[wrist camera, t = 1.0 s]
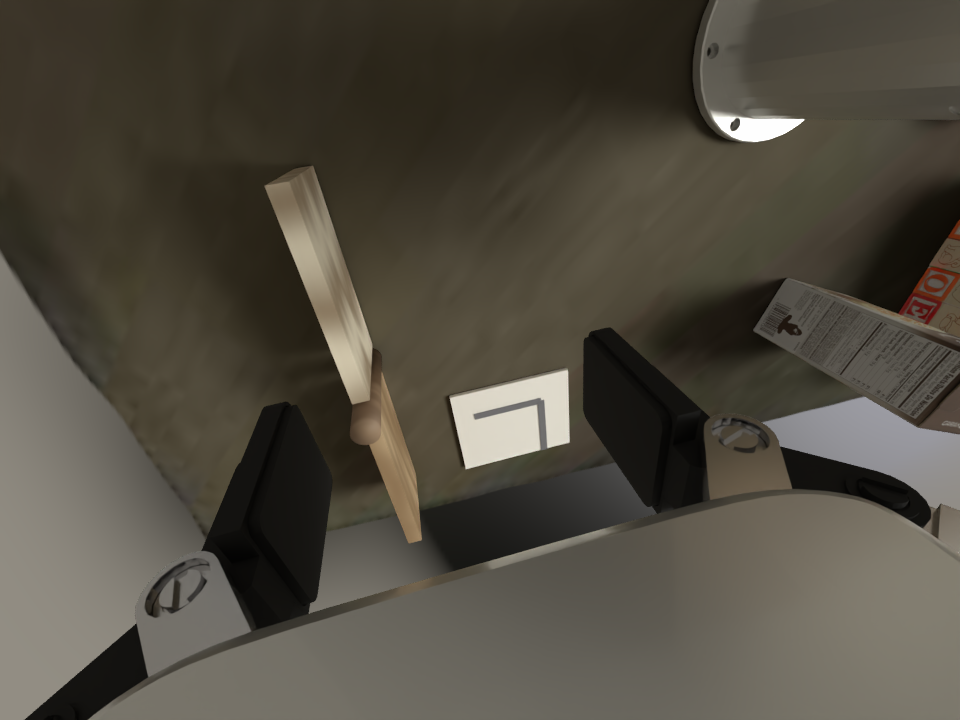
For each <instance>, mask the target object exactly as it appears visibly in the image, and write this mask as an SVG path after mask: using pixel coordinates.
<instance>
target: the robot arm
mask: <svg viewBox="0 0 960 720" xmlns="http://www.w3.org/2000/svg"><path fill="white" fill-rule="evenodd" d="M693 86H694V93H695V99H696V101H697V104H698V107H699V110H700V113H701V115H702V116H703V118H704V120H705V121H706V123H707V124H708V126H709V127H710V128H711V129H712V130H714V131H715V132H716V133H717V134H718V135H720V136H722V137H724V138H726V139H728V140H732V141H737V142H749V143H757V142H762V141H767V140H771V139H773V138H776V137H778V136H781V135H783V134H785V133H786V132H788V131H790V130H791V129H793V128H794V127H796V126H798V125H799V124H800V123H801V122H802V121H804V120H805V119H826V120H960V0H709V2H708V5H707V7H706V9H705V12H704V14H703V17H702V20H701V24H700V27H699V31H698V34H697V38H696V44H695V50H694V57H693ZM583 410H584V414H585V417H586V419H587V421H588V422H589V424H590V425H591V427H592V428H593V430H594V431H595V433H596V434H597V436H598V437H599V438H600V440H601V441H602V443H603V444H604V446H605V447H606V449H607V450H608V452H609V453H610V455H611V456H612V458H613V459H614V460H615V462H616V463H617V465H618V466H619V468H620V469H621V470H622V472H623V474H624V475H625V477H626V478H627V480H628V481H629V482H630V484H631V485H632V487H633V488H634V490H635V491H636V493H637V494H638V496H639V497H640V498H641V500H642V502H643V503H644V504H645V505H646V506H647V507H650V506H652V507H653V508H654V510H655V511H656V513H657V514H655V515H651V516H648V517H644V518H641V519H637V520H633V521H630V522H627V523H623V524H619V525H616V526H612V527H609V528H605V529H601V530H598V531H594V532H591V533H587V534H583V535H580V536H577V537H573V538H569V539H566V540H562V541H559V542H555V543H552V544H548V545H545V546H541V547H537V548H534V549H530V550H527V551H523V552H520V553H516V554H513V555H509V556H506V557H502V558H499V559H495V560H492V561H488V562H485V563H481V564H478V565H475V566H471V567H467V568H464V569H461V570H457V571H453V572H450V573H446V574H443V575H439V576H436V577H432V578H429V579H426V580H422V581H419V582H415V583H412V584H409V585H405V586H402V587H398V588H395V589H391V590H388V591H385V592H381V593H378V594H374V595H371V596H367V597H364V598H360V599H357V600H354V601H350V602H347V603H343V604H340V605H337V606H333V607H330V608H326V609H323V610H320V611H317V612H313V613H310V614H308V612H309V607H310V603H311V602H314V601H315V600H316V598H317V594H318V587H319V580H320V572H321V565H322V557H323V549H324V542H325V535H326V528H327V520H328V513H329V506H330V498H331V491H332V476H331V472H330V470H329V468H328V466H327V464H326V462H325V460H324V458H323V456H322V454H321V452H320V450H319V448H318V446H317V444H316V442H315V440H314V438H313V436H312V434H311V432H310V430H309V428H308V426H307V423H306V421H305V419H304V417H303V415H302V413H301V411H300V409H299V408H298V406H297V405H293V406H291V405H290V404H289V403H288V402H283V403H278V404H274V405H270V406H266V407H264V408H263V410H262V412H261V414H260V417H259V419H258V422H257V424H256V427H255V429H254V431H253V434H252V436H251V439H250V441H249V444H248V446H247V448H246V451H245V453H244V456H243V458H242V461H241V463H239V464H238V466H237V468H236V469H235V472H234V474H233V477H232V479H231V481H230V484H229V486H228V489H227V491H226V493H225V496H224V498H223V501H222V503H221V505H220V508H219V510H218V513H217V515H216V517H215V520H214V522H213V525H212V527H211V529H210V532H209V534H208V537H207V539H206V541H205V544H204V546H203V549H202V551H200V552H193V553H190V554H187V555H184V556H182V557H181V558H178V559H177V560H175V561H173V562H171V563H170V564H169V565H167V566H166V567H165V568H163V569H162V570H161V571H160V572H158V574H157V575H156V576H155V577H154V578H153V579H152V580H151V581H150V582H149V583H148V584H147V586H146V587H145V589H144V590H143V592H142V593H141V595H140V597H139V599H138V602H137V604H136V610H135V618H136V624H135V625H134V626H133V627H132V628H131V629H130V630H128V631H127V632H126V633H125V634H124V635H123V636H121V637H120V638H119V639H118V640H117V641H116V642H114V643H113V644H112V645H111V646H110V647H109V648H107V649H106V650H105V651H104V652H103V653H102V654H100V655H99V656H98V657H97V658H96V659H95V660H94V661H92V662H91V663H90V664H89V665H88V666H86V667H85V668H84V669H83V670H82V671H81V672H79V673H78V674H77V675H76V676H75V677H74V678H72V679H71V680H70V681H69V682H68V683H67V684H65V685H64V686H63V687H62V688H61V689H60V690H59V691H57V692H56V693H55V694H54V695H53V696H52V697H50V698H49V699H48V700H47V701H46V702H45V703H43V704H42V705H41V706H40V707H39V708H38V709H36V710H35V711H34V712H33V713H32V714H31V715H30V716H28V717H27V718H26V719H25V720H960V510H957V509H954V508H951V507H949V506H946V505H943V504H940V505H939V507H938V508H937V509H935V508H933V507H930V506H929V505H928V504H927V501H926V500H925V499H924V498H923V497H922V496H921V495H920V494H919V493H918V492H917V491H916V490H914V489H913V488H911V487H910V486H908V485H907V484H906V483H904V482H902V481H900V480H898V479H896V478H894V477H892V476H889V475H886V474H884V473H881V472H878V471H874V470H870V469H866V468H862V467H858V466H854V465H851V464H847V463H843V462H839V461H835V460H831V459H827V458H823V457H819V456H815V455H812V454H808V453H804V452H800V451H796V450H792V449H788V448H784V447H780V445H779V441H778V439H777V437H776V435H775V433H774V432H773V431H772V430H771V429H770V428H768V426H766V425H765V424H763V423H761V422H760V421H758V420H756V419H753V418H750V417H748V416H744V415H739V414H719V415H715V416H713V417H711V418H710V417H709V416H708V415H707V414H706V413H705V412H704V411H703V410H701V409H700V408H699V407H698V406H697V405H696V404H695V403H694V402H693V401H692V400H690V399H689V398H688V397H687V396H686V395H685V394H684V393H683V392H682V391H681V390H679V389H678V388H677V387H676V386H675V385H674V384H673V383H672V382H671V381H670V380H668V379H667V378H666V377H665V376H664V375H663V374H662V373H661V372H660V371H659V370H657V369H656V368H655V367H654V366H653V365H651V364H650V363H649V362H648V361H647V360H646V359H645V358H644V357H642V356H641V355H640V354H639V353H638V352H637V351H636V350H635V349H634V348H633V347H632V346H630V345H629V344H628V343H627V342H626V341H625V340H624V339H623V338H622V337H621V336H619V335H618V334H617V333H616V332H615V331H614V330H613V329H612V328H604V329H600V330H595V331H591V332H590V333H589V337H587V338H585V339H584V364H583Z"/></svg>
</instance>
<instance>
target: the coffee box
mask: <svg viewBox="0 0 960 720" xmlns="http://www.w3.org/2000/svg"><path fill="white" fill-rule="evenodd" d="M753 331H754V332H755V333H757V334H759V335H761V336H762V337H764V338H766V339H767V340H769V341H771V342H773V343H774V344H776V345H778V346H779V347H781V348H783V349H785V350H786V351H788V352H790V353H792V354H793V355H795V356H797V357H798V358H800V359H802V360H804V361H805V362H807V363H809V364H810V365H812V366H814V367H816V368H817V369H819V370H821V371H822V372H824V373H826V374H827V375H829V376H831V377H832V378H834V379H836V380H837V381H839V382H841V383H843V384H844V385H846V386H848V387H849V388H851V389H853V390H854V391H856V392H858V393H860V394H861V395H863V396H865V397H867V398H868V399H870V400H872V401H873V402H875V403H877V404H878V405H880V406H882V407H884V408H885V409H887V410H889V411H890V412H892V413H894V414H896V415H898V416H899V417H901V418H902V419H904V420H906V421H907V422H909V423H911V424H913V425H914V426H916V427H918V428H923V429H929V430H936V431H942V432H948V433H954V434H960V337H958V336H955V335H953V334H950V333H947V332H944V331H942V330H939V329H936V328H934V327H931V326H929V325H926V324H923V323H921V322H918V321H915V320H913V319H910V318H907V317H905V316H902V315H899V314H897V313H894V312H891V311H889V310H886V309H884V308H881V307H878V306H875V305H873V304H870V303H868V302H865V301H862V300H860V299H857V298H854V297H851V296H848V295H845V294H842V293H838V292H835V291H831V290H828V289H824V288H821V287H817V286H814V285H810V284H807V283H804V282H800V281H796V280H793V279H789V278H787V279H786V280H785V281H784V282H783V284H782V285H781V287H780V289H779V290H778V292H777V293H776V295H775V296H774V298H773V300H772V301H771V303H770V304H769V306H768V308H767V309H766V311H765V312H764V314H763V315H762V317H761V319H760V320H759V322H758V323H757V325H756V326H755V328H754V329H753Z"/></svg>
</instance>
